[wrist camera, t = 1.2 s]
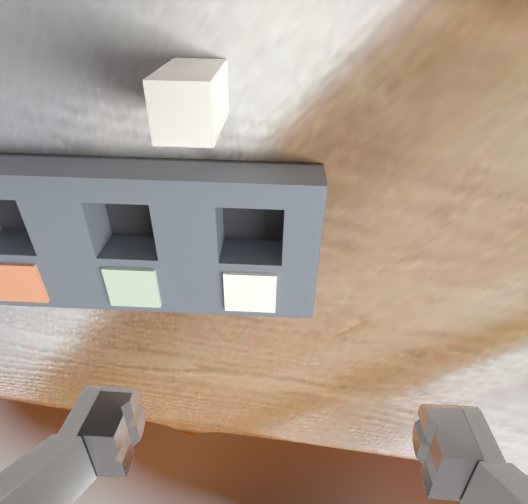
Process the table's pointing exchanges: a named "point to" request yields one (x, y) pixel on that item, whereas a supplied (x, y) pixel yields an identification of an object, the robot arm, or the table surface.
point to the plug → (187, 102)
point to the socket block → (161, 234)
